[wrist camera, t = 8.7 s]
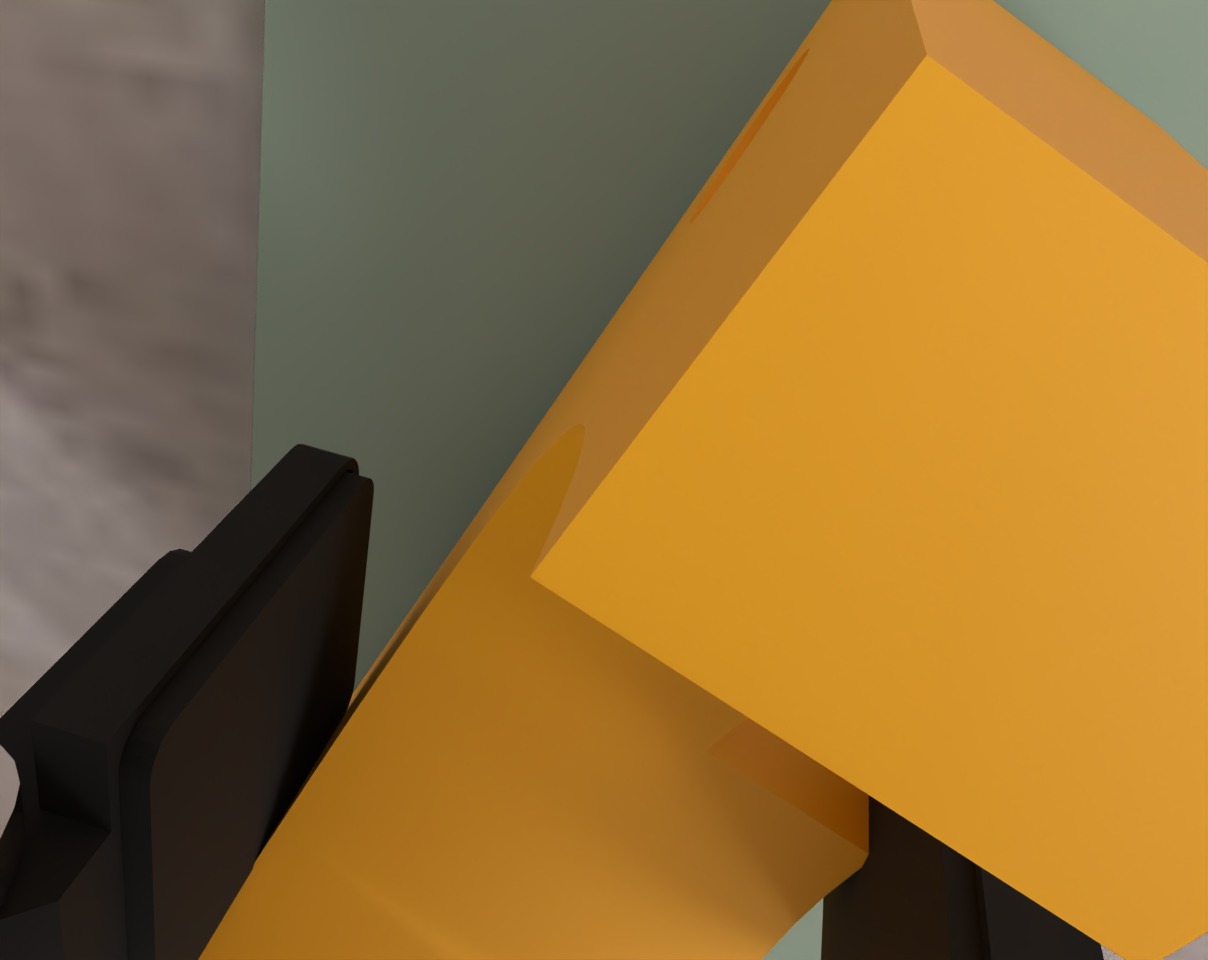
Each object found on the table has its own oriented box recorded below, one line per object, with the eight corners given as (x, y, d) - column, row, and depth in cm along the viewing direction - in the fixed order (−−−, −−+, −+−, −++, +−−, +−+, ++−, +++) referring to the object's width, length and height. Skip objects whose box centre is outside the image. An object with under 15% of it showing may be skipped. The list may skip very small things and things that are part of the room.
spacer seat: (1382, -123, 9) (1439, -120, 8) (828, 984, 17) (827, 1045, 16) (328, -359, 10) (276, -378, 9) (269, 814, 17) (239, 864, 16)
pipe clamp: (562, 963, 15) (379, 1623, 9) (281, 796, 14) (-87, 1387, 9) (1332, 256, 9) (2159, 967, 3) (887, -80, 8) (929, 53, 3)
